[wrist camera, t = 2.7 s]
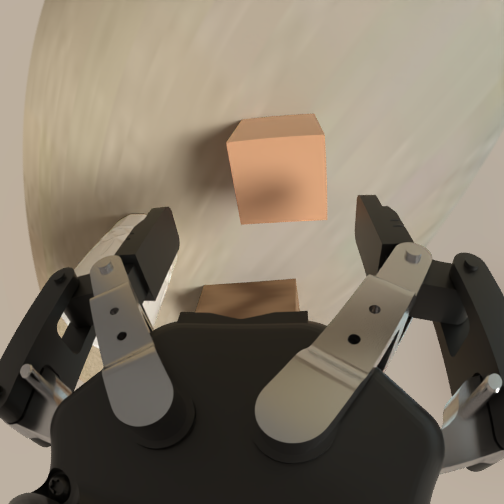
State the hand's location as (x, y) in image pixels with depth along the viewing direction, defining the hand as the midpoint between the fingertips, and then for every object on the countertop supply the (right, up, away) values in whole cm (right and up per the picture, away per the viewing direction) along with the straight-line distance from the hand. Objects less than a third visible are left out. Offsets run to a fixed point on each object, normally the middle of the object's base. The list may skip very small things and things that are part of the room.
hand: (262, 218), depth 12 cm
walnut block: (0, -8, +19) cm, 20 cm away
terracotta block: (+2, +6, +8) cm, 10 cm away
